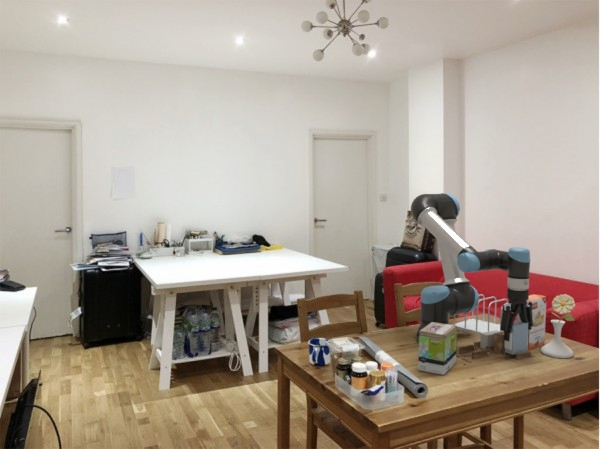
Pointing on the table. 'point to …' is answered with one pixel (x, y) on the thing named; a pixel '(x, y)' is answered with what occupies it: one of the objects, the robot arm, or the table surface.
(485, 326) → the file sorter
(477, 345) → the rack
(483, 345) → the offcut grey
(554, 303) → the flower in vase
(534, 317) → the cracker box
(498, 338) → the offcut brown
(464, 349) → the stand
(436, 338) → the tea box
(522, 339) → the panel
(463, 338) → the table surface
